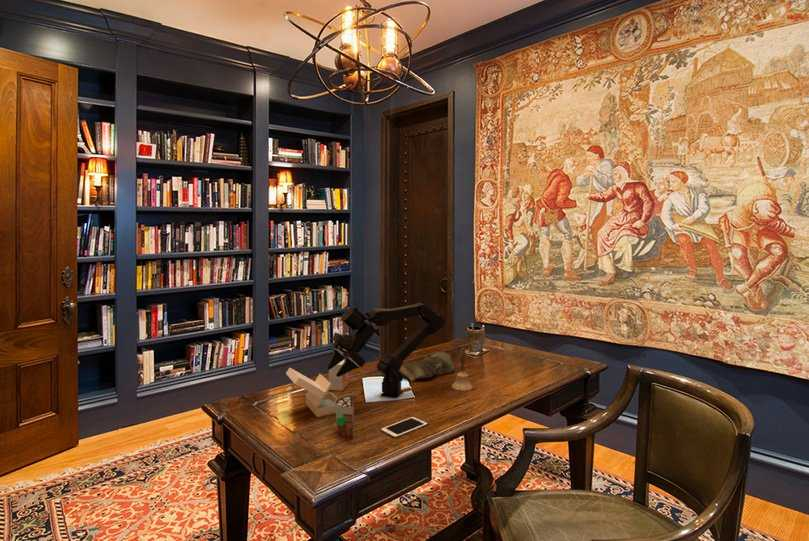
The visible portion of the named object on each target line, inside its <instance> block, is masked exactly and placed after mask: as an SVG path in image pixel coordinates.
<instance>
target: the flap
mask: <svg viewBox="0 0 809 541" xmlns="http://www.w3.org/2000/svg"><path fill="white" fill-rule="evenodd" d="M285 374H286V376H287V377H288V378H289V379H290V380H291V381H292V383H294V385H295V386H296V385H297V386H298V387H300V388H302V389H304V390H306V391H307V393H306V394H305V398H306V397H307V398H308V399H309V400H310V401H311V402H312V403H313V404H314V406H315V407H317V408H318V406H319V404H320V403H321V401H322V400H323V398H324V396H325V395H326V393H329V391H330V390H329V389H330V387H331V385H332V384H331V383H330V382H329V379H327V378H326V377H325V376H323V375H322V374H321V373H318V376H317V377H316V379H315V380H312V379H311V378H309V377H307V376H305V375H304V374H302V373H300V372H299V371H297V370H295V369H294V368H291V367H289V368H288V370H287V371H286V372H285Z"/></svg>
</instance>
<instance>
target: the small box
mask: <svg viewBox="0 0 809 541" xmlns="http://www.w3.org/2000/svg"><path fill="white" fill-rule="evenodd" d="M344 361H345V359H344V360H343V361H341V362H340V363H339V364H337V365H336V366H334V367H333V368H332V369H330V370H329V369H328V381H329V382H330V383H331V384H332V385H331V387H330V389H329V390H328V391H339V392H340V391H341V392H342V391H344V389H346V387H347V386H349V372H347V373H346V374H344V375H342V376H340V377H337V376H336V374H337V373H338V371H339V369H340V368H341V366H342V365H343V363H344Z"/></svg>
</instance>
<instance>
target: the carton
mask: <svg viewBox="0 0 809 541" xmlns="http://www.w3.org/2000/svg"><path fill="white" fill-rule="evenodd" d="M336 398H338V397H337V396H336V395H335V394H334V393H333V392H332V391H331V392H327V393H326V395H325V396H324V398H323V400H322V401H321V403H320V404H319V406H318V408H317V407H315V406H314V404H313V403H312V402H311V401H310V400H309V399H308V398H307V397H306V396H305V401H306V402H305V403H306V407H307V408H308V409H309V410H310V411H311V412H312V413H313V415H314V416H315V417H316V418H322V417H325V416H330V415H334V414H335V415H336V411H335V410H334V409H333V406H334V402H335V400H336Z"/></svg>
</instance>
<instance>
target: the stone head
mask: <svg viewBox="0 0 809 541" xmlns="http://www.w3.org/2000/svg"><path fill="white" fill-rule="evenodd" d="M451 358H452V355H451V354H450V353H448V352H443V351H439V352H435V353H434V354H432V355H430V356H426V357H425V358H423V359H422V360H415V361H409V362H405V363H402V366H401V369H400V370H399V372H401V373H402V374H403V375H404V377H407V379H409V381H410V382H411V383H414V382H416V381H418V380H419V379H430V378H432V377H434V375H436V376H441V375H448V374H451V373H453V372H454V369H455V366H454V362H453V360H452V359H451Z"/></svg>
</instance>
